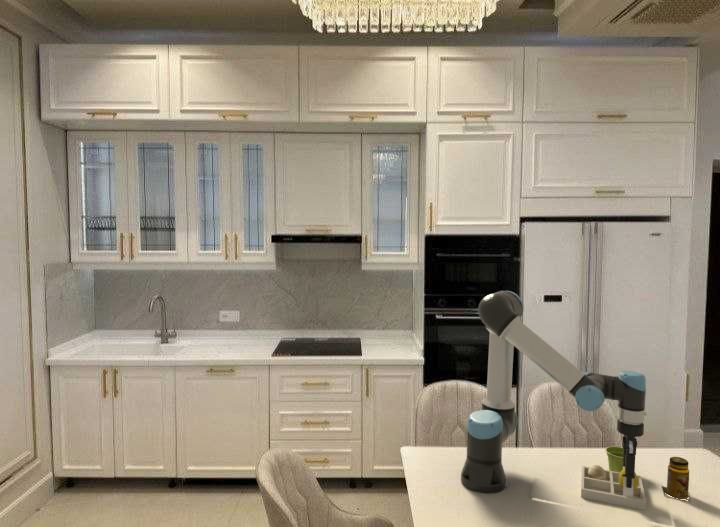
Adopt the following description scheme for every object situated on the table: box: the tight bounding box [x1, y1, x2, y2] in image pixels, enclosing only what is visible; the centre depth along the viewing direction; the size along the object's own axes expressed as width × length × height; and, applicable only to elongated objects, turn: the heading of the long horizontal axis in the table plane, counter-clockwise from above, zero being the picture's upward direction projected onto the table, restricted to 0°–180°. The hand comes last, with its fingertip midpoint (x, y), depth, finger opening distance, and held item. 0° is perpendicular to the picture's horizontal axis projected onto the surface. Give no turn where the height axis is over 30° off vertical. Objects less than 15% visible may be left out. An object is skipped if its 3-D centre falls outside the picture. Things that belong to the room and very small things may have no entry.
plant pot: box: [604, 446, 625, 472], centre depth 184 cm, size 9×9×9 cm
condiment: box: [661, 456, 691, 503], centre depth 171 cm, size 7×8×12 cm
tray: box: [580, 465, 647, 511], centre depth 172 cm, size 18×18×4 cm
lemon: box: [619, 469, 638, 491], centre depth 166 cm, size 6×6×8 cm
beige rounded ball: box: [588, 464, 606, 480], centre depth 177 cm, size 6×6×6 cm
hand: (627, 491), depth 166 cm, fingers closed on lemon, 6 cm apart
